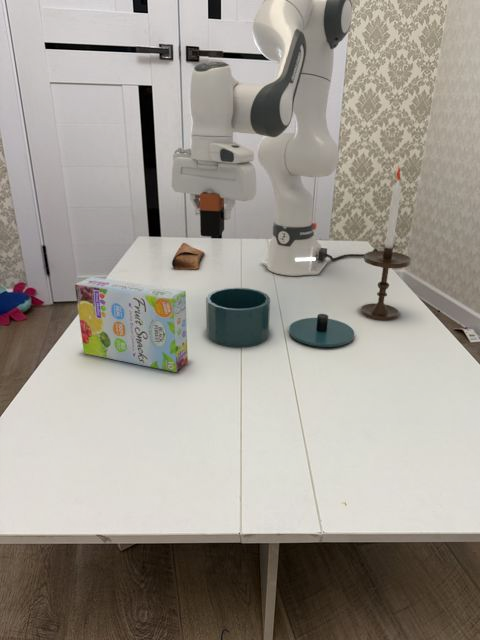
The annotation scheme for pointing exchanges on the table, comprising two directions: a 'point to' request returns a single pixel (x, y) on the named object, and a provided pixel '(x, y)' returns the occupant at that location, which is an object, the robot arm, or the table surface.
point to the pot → (237, 317)
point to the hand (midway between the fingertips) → (212, 217)
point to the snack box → (133, 322)
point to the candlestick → (386, 262)
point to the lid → (321, 331)
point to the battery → (211, 214)
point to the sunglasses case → (187, 258)
